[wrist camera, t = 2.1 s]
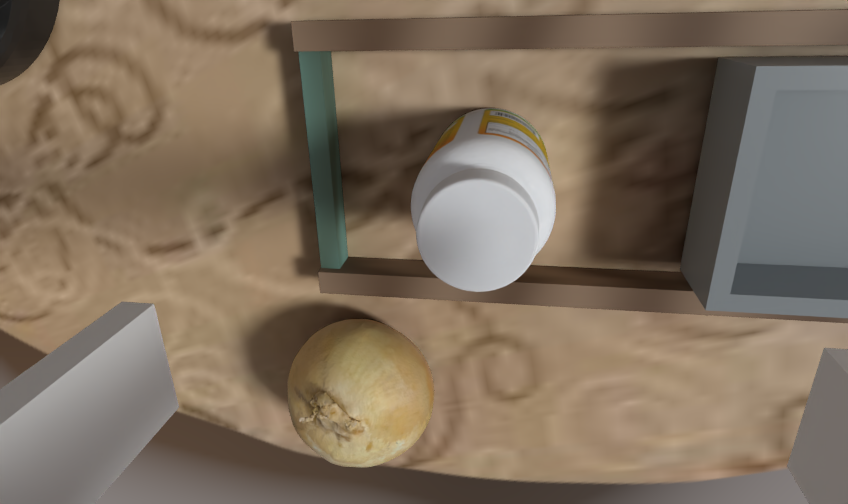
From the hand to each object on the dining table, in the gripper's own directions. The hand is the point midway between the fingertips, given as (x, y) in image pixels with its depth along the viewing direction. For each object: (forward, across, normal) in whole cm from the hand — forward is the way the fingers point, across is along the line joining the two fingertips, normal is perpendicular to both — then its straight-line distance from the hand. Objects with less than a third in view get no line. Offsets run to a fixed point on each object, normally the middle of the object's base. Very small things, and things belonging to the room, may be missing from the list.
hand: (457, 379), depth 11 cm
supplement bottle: (+17, 0, 0) cm, 17 cm away
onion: (+17, -7, -12) cm, 22 cm away
